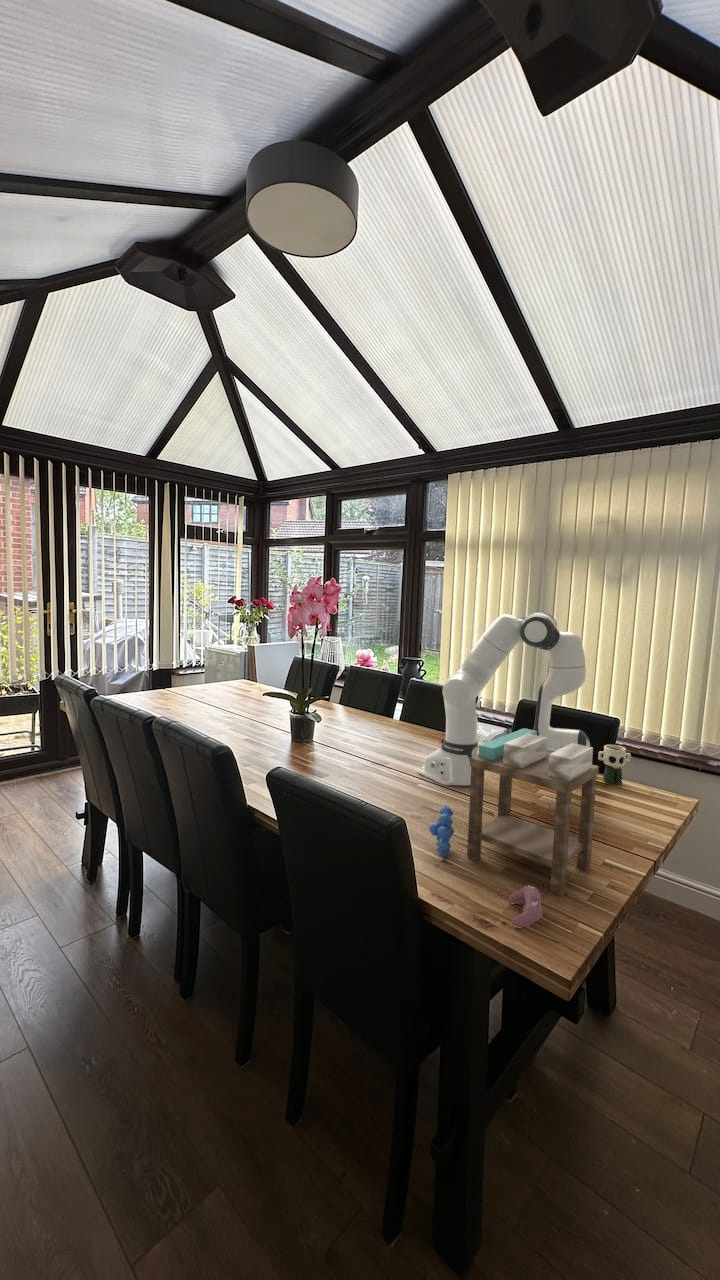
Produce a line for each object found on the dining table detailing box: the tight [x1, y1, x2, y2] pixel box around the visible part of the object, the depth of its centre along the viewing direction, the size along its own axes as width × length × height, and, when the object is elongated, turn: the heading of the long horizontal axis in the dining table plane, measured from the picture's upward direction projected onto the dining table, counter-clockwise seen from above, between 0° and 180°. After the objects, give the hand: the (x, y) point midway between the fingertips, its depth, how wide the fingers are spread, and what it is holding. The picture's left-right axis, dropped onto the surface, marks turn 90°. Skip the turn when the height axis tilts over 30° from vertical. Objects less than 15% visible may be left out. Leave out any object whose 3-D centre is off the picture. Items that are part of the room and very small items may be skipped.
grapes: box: [428, 804, 456, 858], centre depth 137 cm, size 12×7×12 cm, turn 166°
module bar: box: [478, 727, 537, 760], centre depth 141 cm, size 4×24×3 cm, turn 136°
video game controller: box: [508, 884, 543, 928], centre depth 110 cm, size 10×5×7 cm, turn 169°
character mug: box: [597, 744, 632, 785], centre depth 189 cm, size 11×7×13 cm, turn 82°
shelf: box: [466, 733, 600, 897], centre depth 131 cm, size 25×18×31 cm
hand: (543, 749), depth 156 cm, fingers open, 8 cm apart
